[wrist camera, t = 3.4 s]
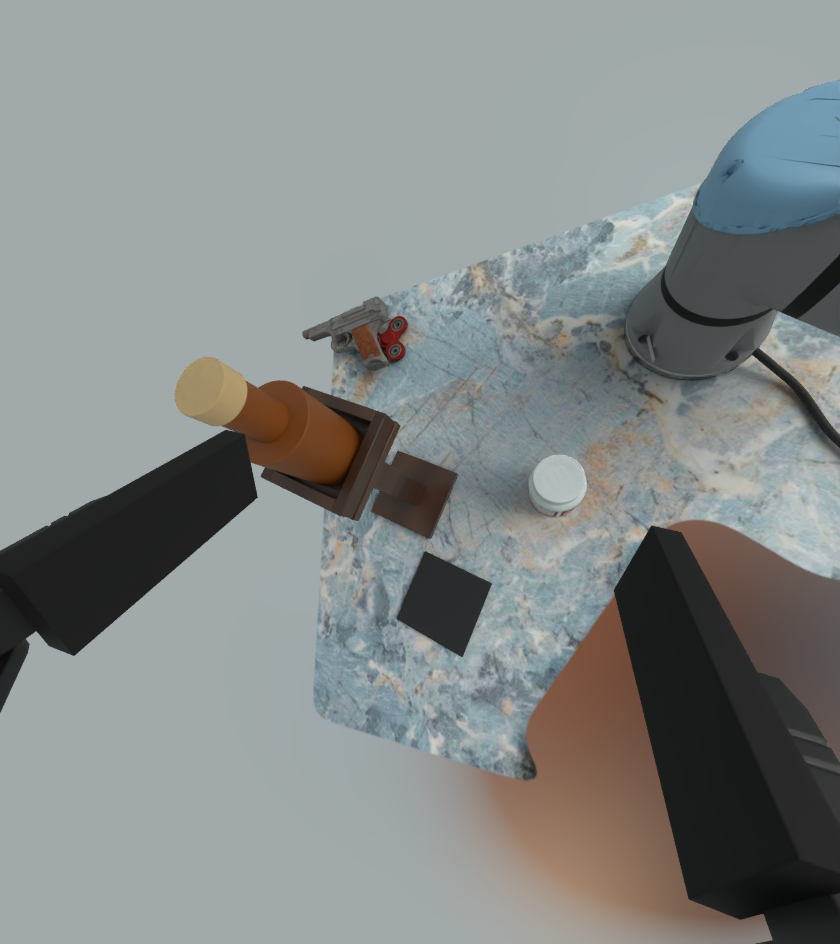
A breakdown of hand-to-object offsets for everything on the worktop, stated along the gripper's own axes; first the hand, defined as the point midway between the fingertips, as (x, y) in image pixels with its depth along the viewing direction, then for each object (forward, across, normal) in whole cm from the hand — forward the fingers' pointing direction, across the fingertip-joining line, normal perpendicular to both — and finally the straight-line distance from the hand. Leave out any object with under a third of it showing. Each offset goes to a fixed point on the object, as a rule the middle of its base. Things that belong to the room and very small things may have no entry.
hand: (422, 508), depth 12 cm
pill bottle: (+33, +11, -19) cm, 39 cm away
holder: (+32, -8, -24) cm, 41 cm away
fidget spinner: (+50, -18, -6) cm, 54 cm away
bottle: (+15, -12, -9) cm, 21 cm away
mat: (+22, 0, -33) cm, 40 cm away
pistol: (+44, -25, -13) cm, 52 cm away
